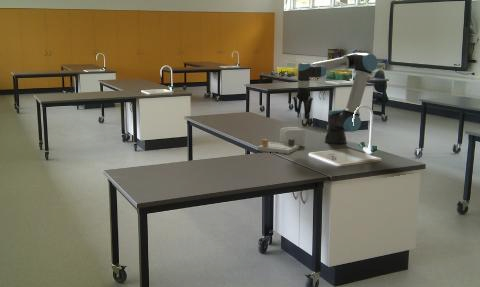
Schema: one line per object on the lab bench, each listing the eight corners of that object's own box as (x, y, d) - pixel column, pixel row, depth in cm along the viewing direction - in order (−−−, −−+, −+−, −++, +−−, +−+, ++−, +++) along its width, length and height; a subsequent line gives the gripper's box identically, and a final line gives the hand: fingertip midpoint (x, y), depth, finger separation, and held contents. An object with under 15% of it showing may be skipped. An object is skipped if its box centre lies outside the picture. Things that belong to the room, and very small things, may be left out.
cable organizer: (284, 147, 361) (284, 130, 358) (279, 143, 371) (279, 127, 368) (304, 146, 364) (305, 129, 362) (299, 142, 374) (300, 126, 372)
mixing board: (298, 149, 355) (298, 145, 354) (288, 154, 340) (288, 150, 339) (268, 145, 365) (268, 141, 364) (257, 150, 350) (257, 146, 350)
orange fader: (268, 145, 351) (268, 139, 350) (266, 146, 348) (266, 140, 347) (264, 144, 352) (264, 139, 351) (262, 145, 350) (262, 139, 349)
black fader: (294, 144, 354) (294, 138, 353) (292, 145, 351) (292, 139, 350) (290, 144, 355) (290, 138, 354) (288, 145, 353) (288, 139, 352)
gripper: (289, 86, 342) (288, 122, 347) (312, 88, 335) (311, 125, 340) (294, 85, 348) (293, 121, 353) (316, 87, 341) (315, 123, 346)
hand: (302, 122), depth 347 cm, fingers open, 3 cm apart
